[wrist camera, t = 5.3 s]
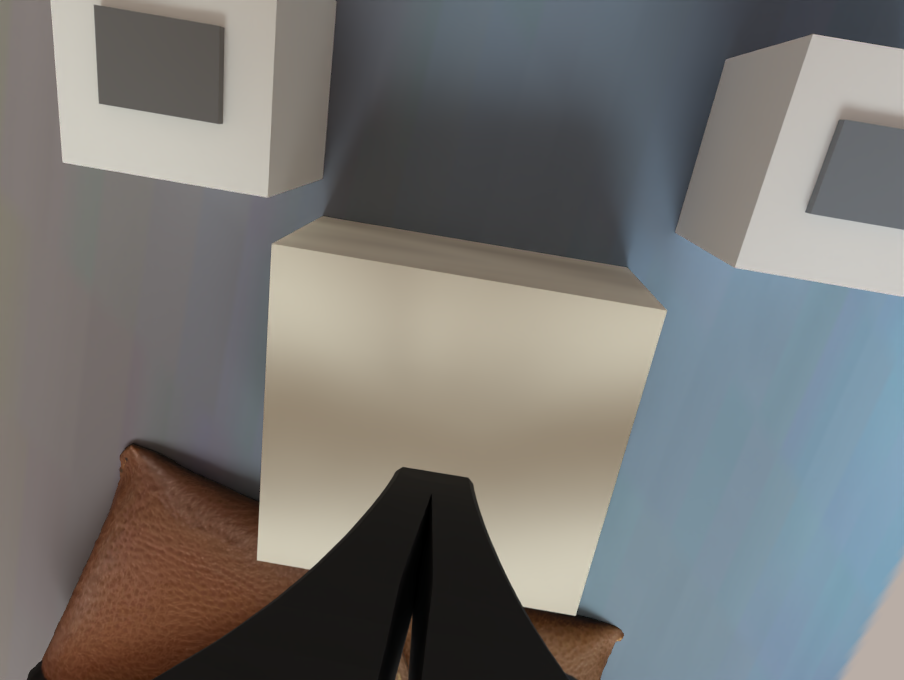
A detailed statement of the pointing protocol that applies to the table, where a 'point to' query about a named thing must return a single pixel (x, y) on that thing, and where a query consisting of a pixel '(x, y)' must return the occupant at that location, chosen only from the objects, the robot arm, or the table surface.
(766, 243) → the cream block marked 1
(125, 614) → the sunglasses case
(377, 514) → the robot arm
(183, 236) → the table surface
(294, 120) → the cream block marked 2
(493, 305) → the plain birch block
